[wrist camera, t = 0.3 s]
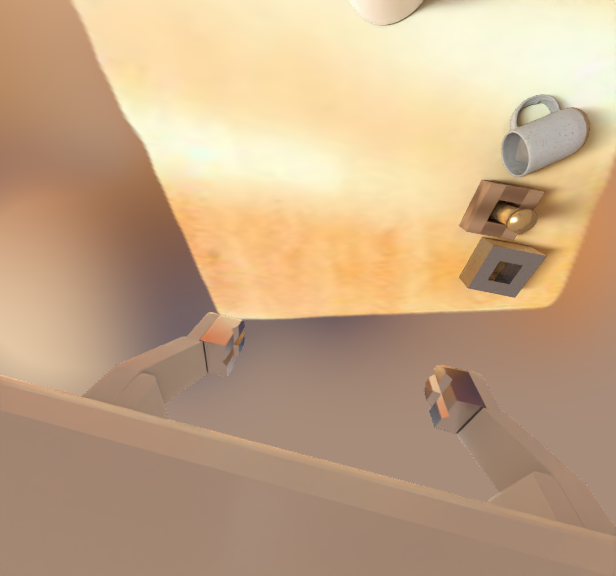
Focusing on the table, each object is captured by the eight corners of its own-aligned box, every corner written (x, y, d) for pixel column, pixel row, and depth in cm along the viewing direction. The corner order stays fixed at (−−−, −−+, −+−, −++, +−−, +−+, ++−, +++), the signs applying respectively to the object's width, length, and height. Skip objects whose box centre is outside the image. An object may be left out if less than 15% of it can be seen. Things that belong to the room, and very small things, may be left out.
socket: (481, 237, 50) (493, 245, 46) (530, 246, 49) (546, 255, 45) (459, 277, 56) (467, 288, 51) (502, 285, 55) (514, 297, 51)
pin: (488, 196, 46) (518, 208, 38) (508, 199, 46) (543, 212, 37) (477, 215, 48) (504, 230, 40) (497, 219, 48) (527, 235, 39)
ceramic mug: (558, 152, 41) (596, 153, 34) (503, 175, 44) (529, 180, 37) (555, 84, 37) (597, 69, 30) (494, 114, 40) (521, 107, 33)
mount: (481, 179, 45) (492, 182, 42) (530, 188, 44) (545, 191, 41) (459, 225, 50) (466, 231, 46) (502, 233, 49) (513, 240, 46)
